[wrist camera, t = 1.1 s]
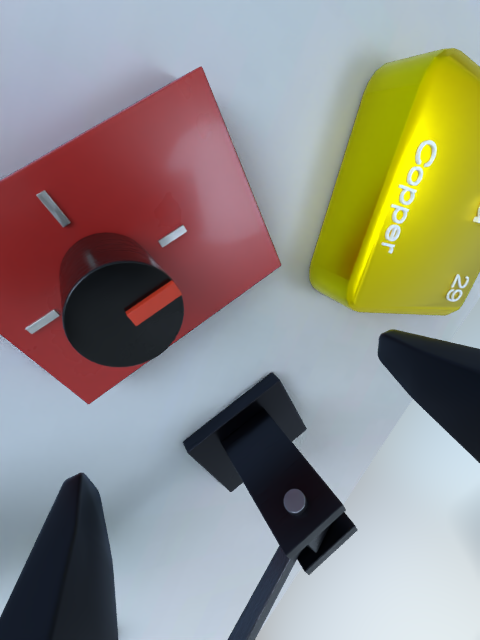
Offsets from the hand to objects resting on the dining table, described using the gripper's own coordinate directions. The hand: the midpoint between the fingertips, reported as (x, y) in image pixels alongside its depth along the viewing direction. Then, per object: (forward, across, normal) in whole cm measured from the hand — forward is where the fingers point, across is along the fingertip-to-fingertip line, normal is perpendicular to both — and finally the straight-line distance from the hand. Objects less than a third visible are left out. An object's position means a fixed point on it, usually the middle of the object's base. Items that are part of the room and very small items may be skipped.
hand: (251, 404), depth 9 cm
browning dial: (+9, +3, -1) cm, 9 cm away
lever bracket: (+12, -2, +17) cm, 21 cm away
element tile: (+14, -19, +2) cm, 24 cm away
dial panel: (+12, +1, -2) cm, 12 cm away
